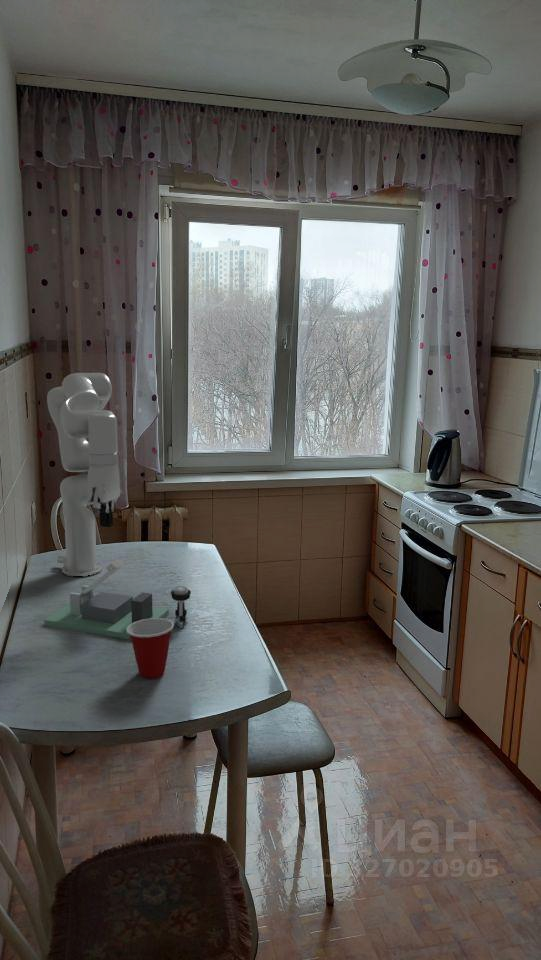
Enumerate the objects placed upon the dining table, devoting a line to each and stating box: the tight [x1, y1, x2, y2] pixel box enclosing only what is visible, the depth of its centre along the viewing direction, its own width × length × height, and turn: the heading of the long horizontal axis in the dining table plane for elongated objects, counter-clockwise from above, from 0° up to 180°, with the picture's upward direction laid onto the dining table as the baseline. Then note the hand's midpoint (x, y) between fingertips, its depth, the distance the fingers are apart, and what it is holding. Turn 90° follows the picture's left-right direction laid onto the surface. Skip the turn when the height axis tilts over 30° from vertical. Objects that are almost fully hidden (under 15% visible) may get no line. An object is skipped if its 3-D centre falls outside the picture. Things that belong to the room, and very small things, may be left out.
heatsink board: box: [43, 584, 170, 641], centre depth 191 cm, size 28×18×8 cm, turn 72°
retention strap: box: [80, 557, 126, 597], centre depth 191 cm, size 17×4×2 cm
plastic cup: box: [126, 618, 175, 680], centre depth 162 cm, size 11×11×12 cm
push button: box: [170, 585, 192, 629], centre depth 189 cm, size 7×5×10 cm
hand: (106, 525), depth 192 cm, fingers closed
